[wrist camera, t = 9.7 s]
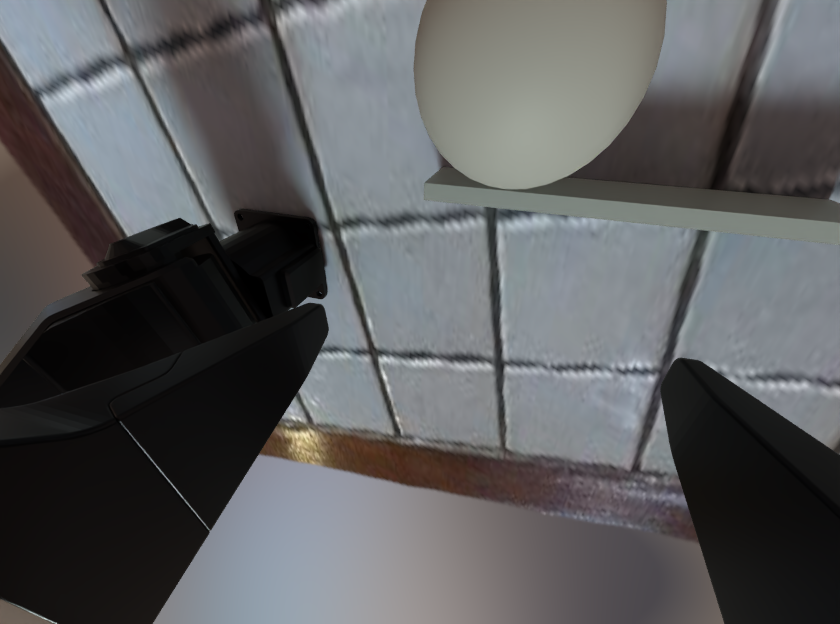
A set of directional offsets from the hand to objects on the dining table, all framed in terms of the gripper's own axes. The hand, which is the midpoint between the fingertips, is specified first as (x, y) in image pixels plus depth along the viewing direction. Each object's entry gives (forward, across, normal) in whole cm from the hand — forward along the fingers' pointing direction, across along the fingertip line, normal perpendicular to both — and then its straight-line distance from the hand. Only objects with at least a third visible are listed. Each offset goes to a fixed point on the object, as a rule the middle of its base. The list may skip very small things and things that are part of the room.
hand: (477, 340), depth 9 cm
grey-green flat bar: (+13, -5, -1) cm, 14 cm away
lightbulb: (+13, 0, -6) cm, 14 cm away
